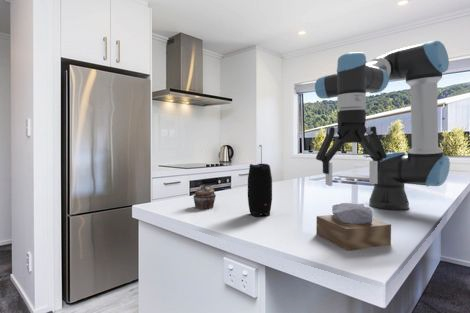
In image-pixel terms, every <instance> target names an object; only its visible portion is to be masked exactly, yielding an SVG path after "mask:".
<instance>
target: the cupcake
mask: <svg viewBox="0 0 470 313" xmlns="http://www.w3.org/2000/svg"><path fill="white" fill-rule="evenodd" d="M215 192H216V191H215V189H214V186H213V184H200V186H199V187H198V188H197V189H196V191H195V194H194V196H192V197H193V202H194V207H195V209H196V210H205V211H206V210H211V209H213V208H214V206H215V205H214V204H215V201H216V197H217V195H216V194H215Z"/></svg>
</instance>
